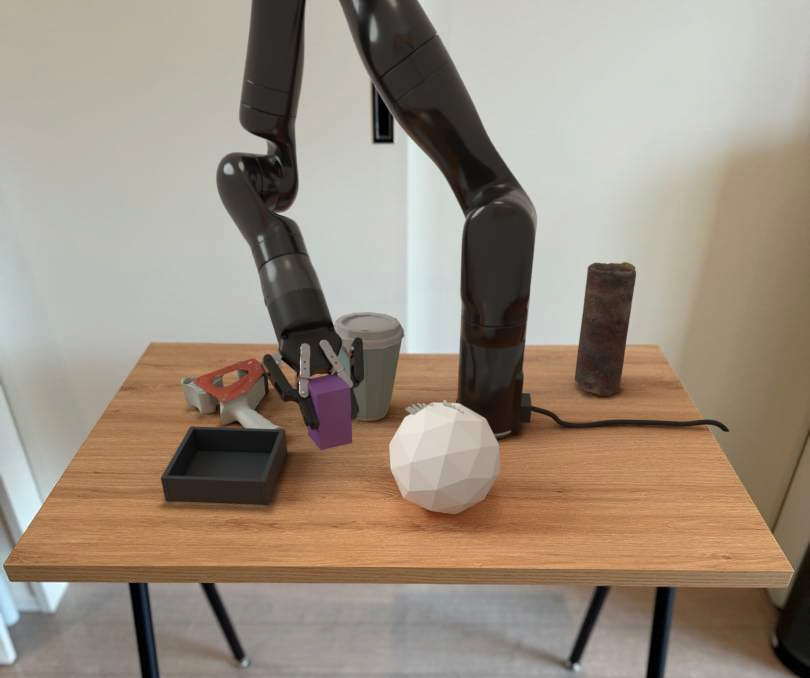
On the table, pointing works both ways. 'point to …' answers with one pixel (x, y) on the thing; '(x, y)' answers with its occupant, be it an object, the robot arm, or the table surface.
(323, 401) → the plum block
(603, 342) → the candle
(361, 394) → the disposable coffee cup
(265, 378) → the tape dispenser
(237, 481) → the tray
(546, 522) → the table surface
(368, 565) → the table surface
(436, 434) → the geodesic sphere
